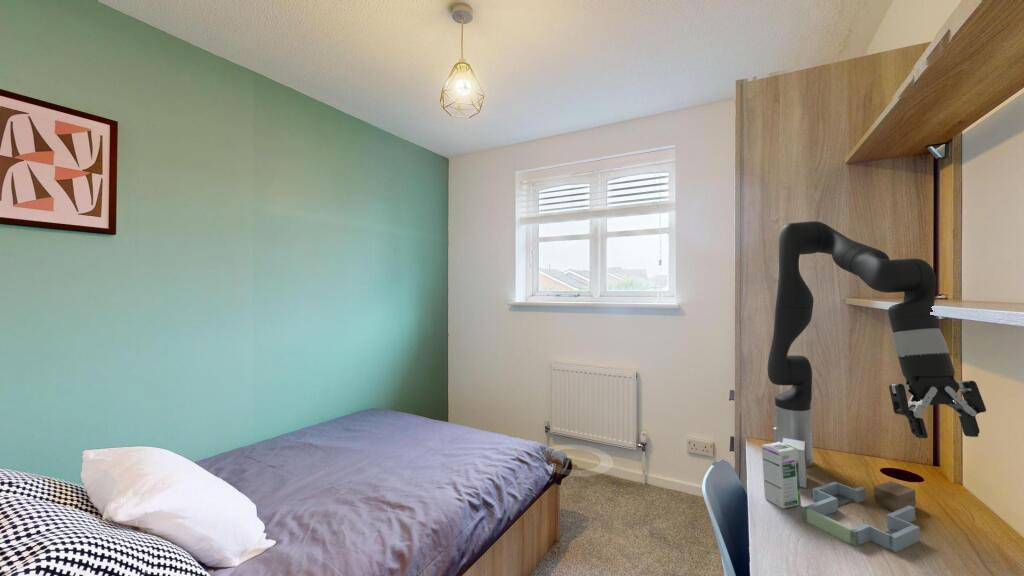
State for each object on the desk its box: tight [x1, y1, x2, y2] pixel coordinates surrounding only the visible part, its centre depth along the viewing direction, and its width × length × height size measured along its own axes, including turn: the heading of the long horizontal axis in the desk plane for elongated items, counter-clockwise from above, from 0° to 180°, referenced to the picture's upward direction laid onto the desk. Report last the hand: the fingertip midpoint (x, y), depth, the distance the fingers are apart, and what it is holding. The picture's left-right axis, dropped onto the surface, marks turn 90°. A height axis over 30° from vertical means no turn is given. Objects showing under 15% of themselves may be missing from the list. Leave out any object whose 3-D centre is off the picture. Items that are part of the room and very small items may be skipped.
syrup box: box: [761, 442, 802, 510], centre depth 106 cm, size 6×6×14 cm
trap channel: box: [801, 481, 921, 553], centre depth 96 cm, size 20×22×3 cm
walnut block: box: [873, 480, 917, 512], centre depth 102 cm, size 5×7×4 cm
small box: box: [782, 438, 808, 489], centre depth 116 cm, size 8×6×10 cm
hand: (946, 437), depth 79 cm, fingers open, 8 cm apart
